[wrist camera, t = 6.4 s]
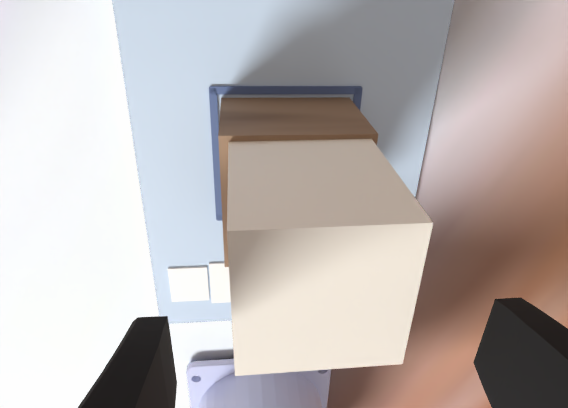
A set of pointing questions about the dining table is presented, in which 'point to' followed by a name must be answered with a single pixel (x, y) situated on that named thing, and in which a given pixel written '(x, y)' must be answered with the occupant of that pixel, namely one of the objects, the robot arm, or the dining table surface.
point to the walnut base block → (285, 128)
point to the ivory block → (320, 255)
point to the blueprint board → (258, 84)
